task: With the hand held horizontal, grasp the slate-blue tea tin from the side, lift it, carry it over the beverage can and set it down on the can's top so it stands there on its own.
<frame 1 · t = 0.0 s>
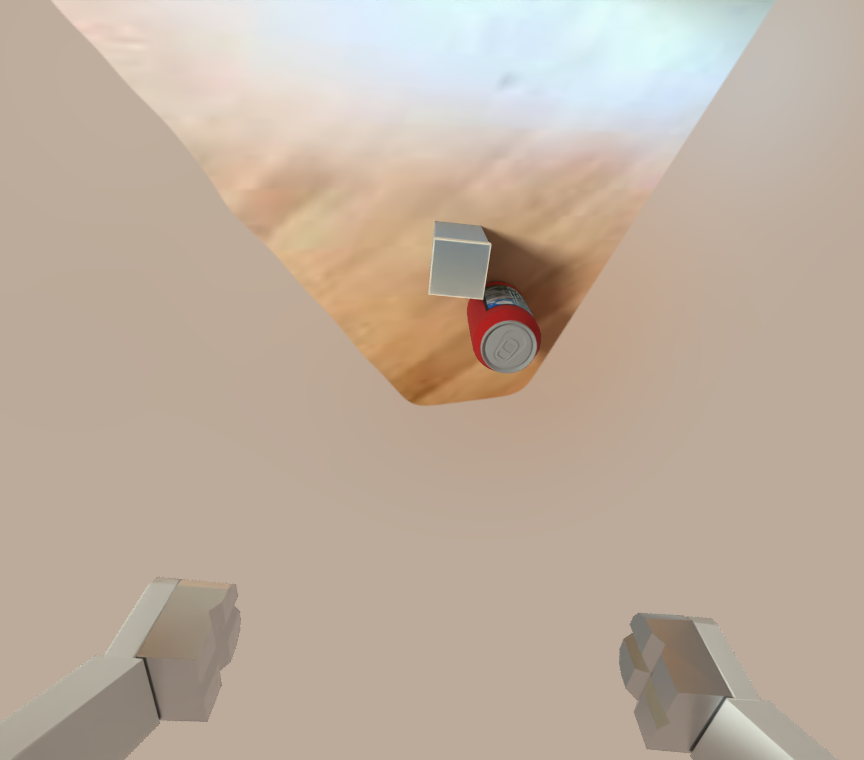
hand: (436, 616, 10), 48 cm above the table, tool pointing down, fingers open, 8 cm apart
beverage can: (494, 307, 57), on the table
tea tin: (455, 246, 54), on the table
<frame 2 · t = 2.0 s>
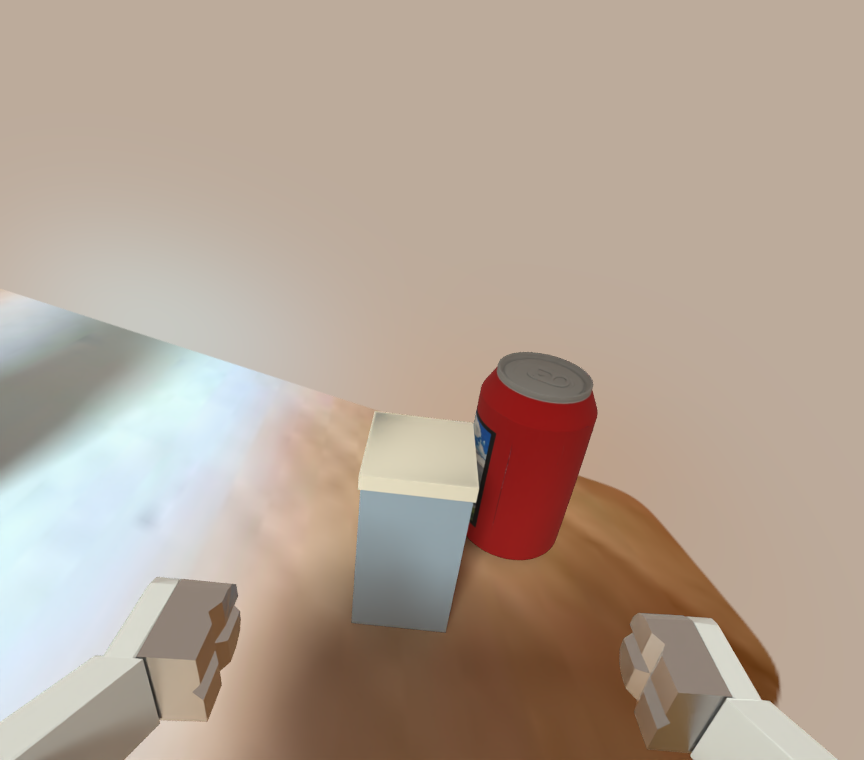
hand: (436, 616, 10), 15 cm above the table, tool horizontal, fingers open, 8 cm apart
beverage can: (503, 530, 33), on the table
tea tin: (402, 587, 28), on the table
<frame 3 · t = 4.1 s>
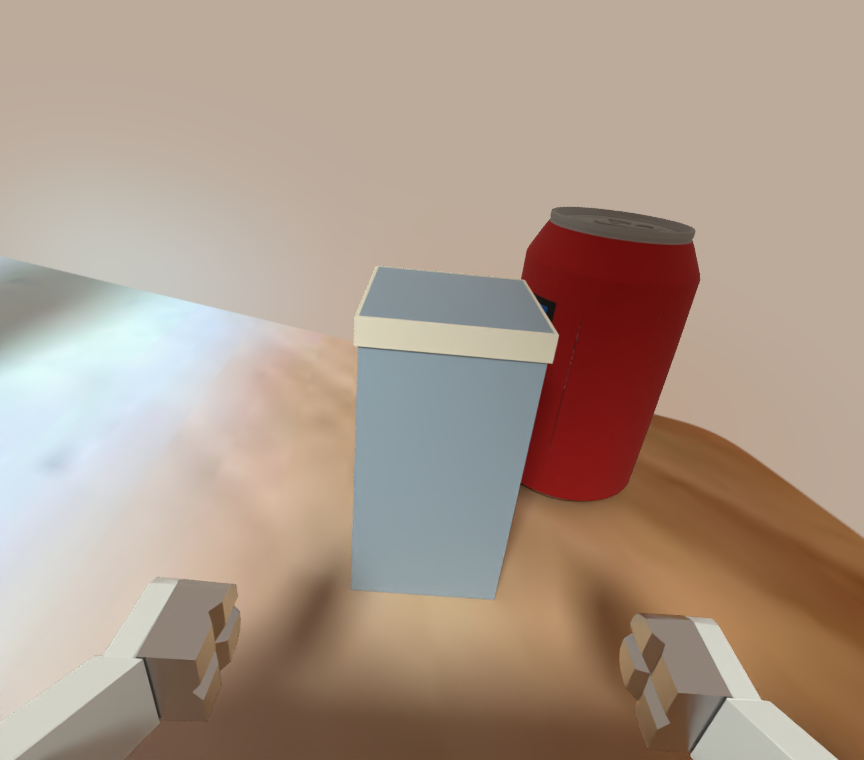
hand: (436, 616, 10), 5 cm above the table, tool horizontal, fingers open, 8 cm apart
beverage can: (554, 471, 24), on the table
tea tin: (424, 540, 19), on the table
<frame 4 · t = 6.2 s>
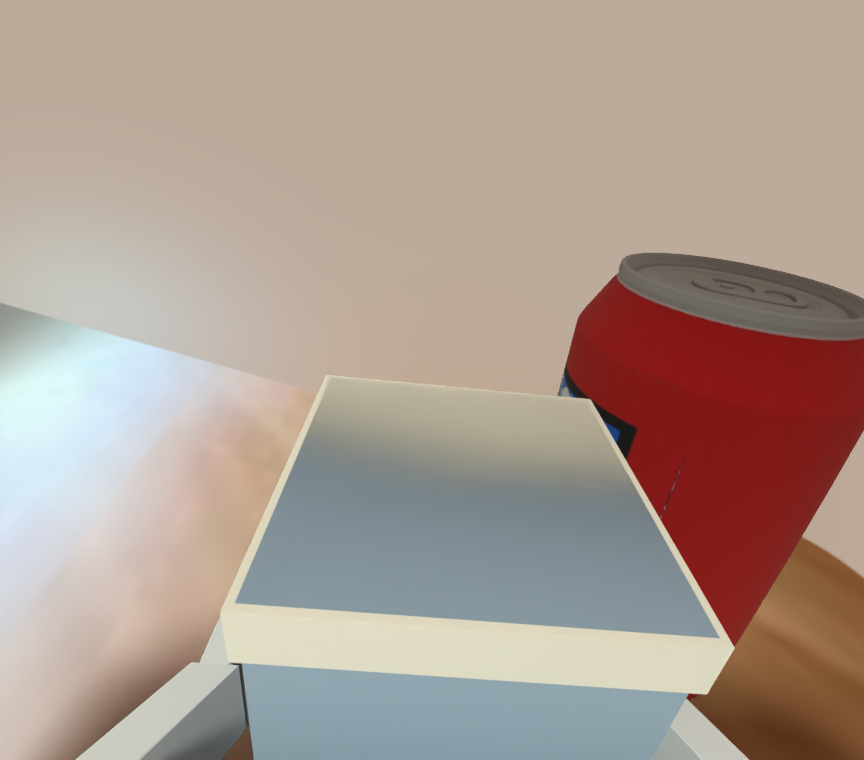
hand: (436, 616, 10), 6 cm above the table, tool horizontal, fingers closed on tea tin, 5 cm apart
beverage can: (604, 622, 17), on the table
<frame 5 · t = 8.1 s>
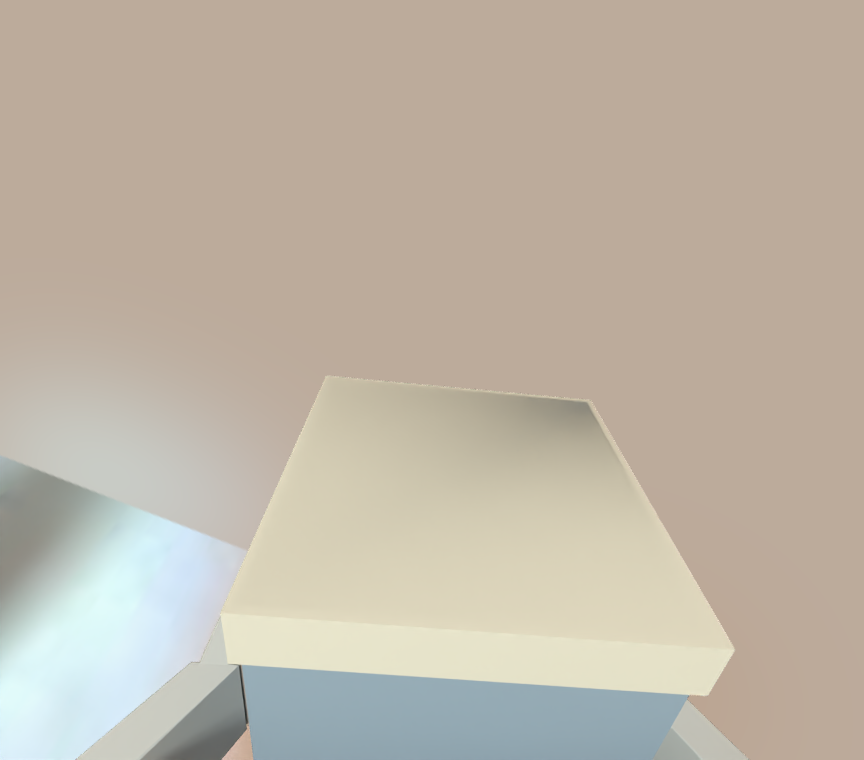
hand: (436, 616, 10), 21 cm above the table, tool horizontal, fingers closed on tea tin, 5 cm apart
when the fingers open (19 cm above the table, at t = 10.4 s): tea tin drops 2 cm, resting on beverage can.
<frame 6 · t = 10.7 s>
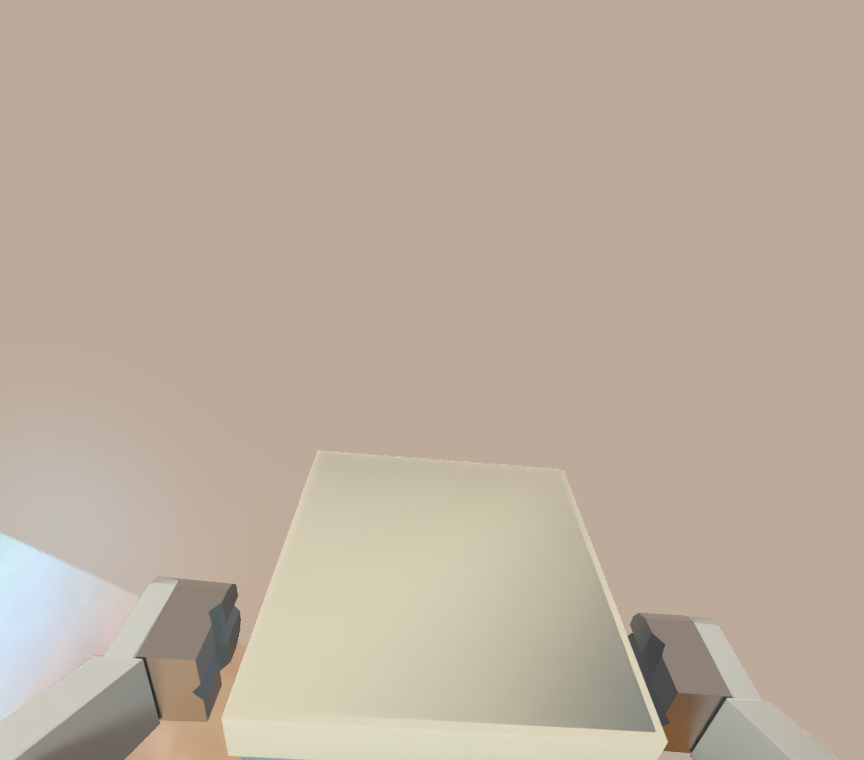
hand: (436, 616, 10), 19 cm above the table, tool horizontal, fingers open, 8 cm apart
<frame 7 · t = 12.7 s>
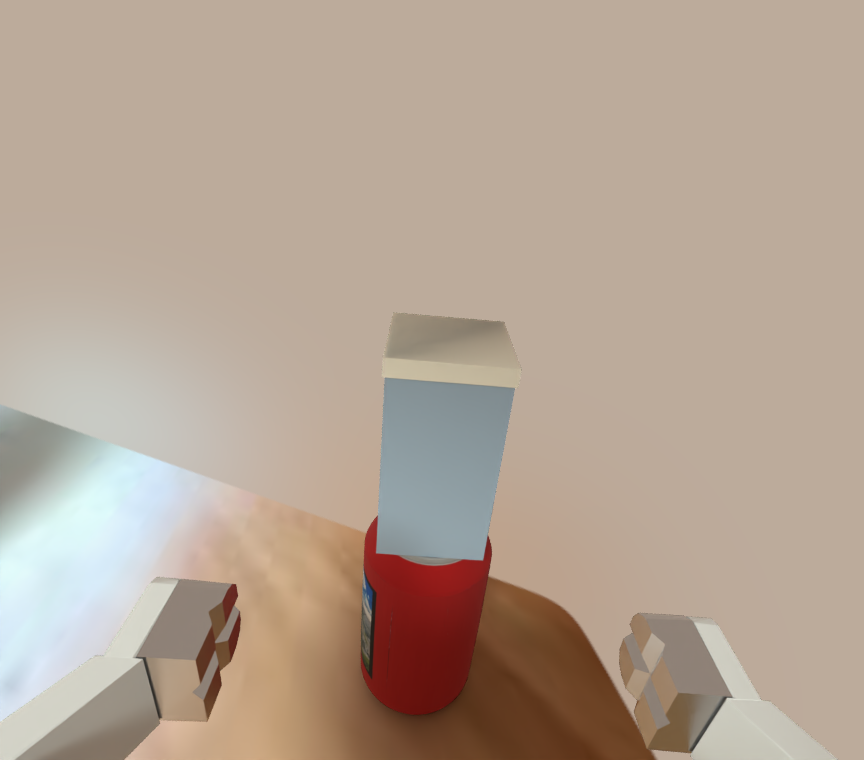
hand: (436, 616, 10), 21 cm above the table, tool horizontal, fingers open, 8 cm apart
beverage can: (414, 667, 30), on the table, touching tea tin
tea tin: (430, 519, 25), point 12 cm above the table, touching beverage can
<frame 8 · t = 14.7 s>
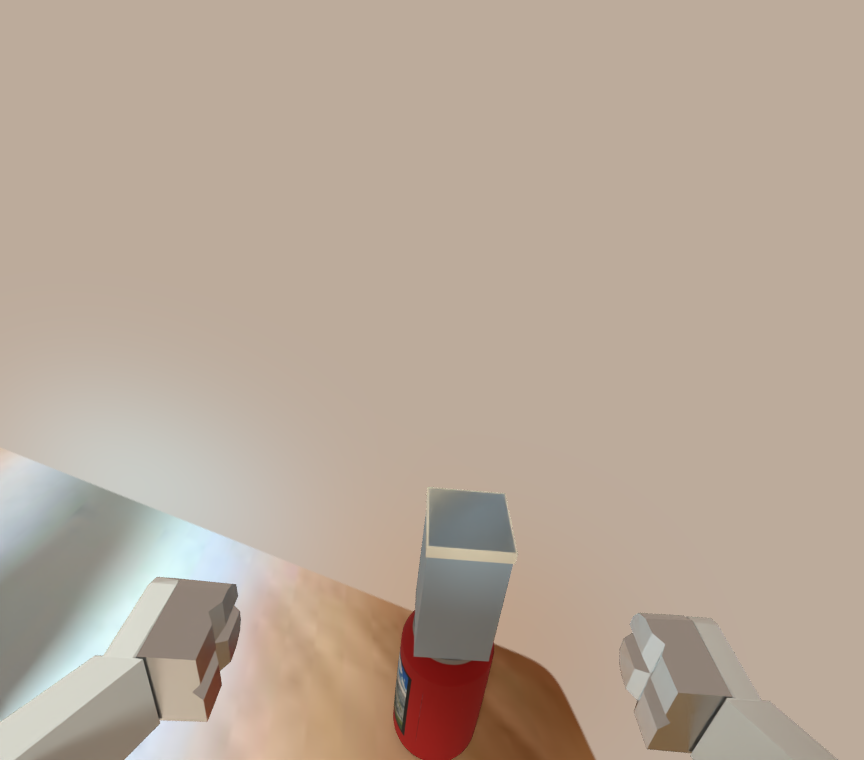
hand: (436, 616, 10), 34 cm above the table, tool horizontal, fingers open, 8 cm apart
beverage can: (433, 722, 40), on the table, touching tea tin
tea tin: (449, 624, 34), point 12 cm above the table, touching beverage can
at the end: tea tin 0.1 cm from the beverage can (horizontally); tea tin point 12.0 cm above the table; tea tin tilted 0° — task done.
